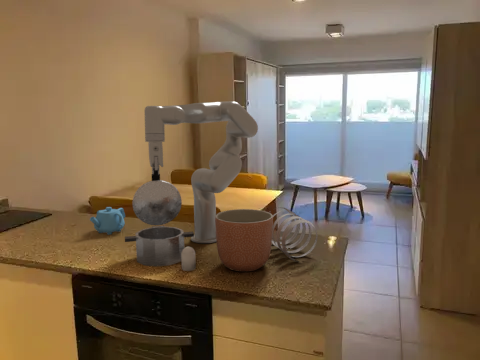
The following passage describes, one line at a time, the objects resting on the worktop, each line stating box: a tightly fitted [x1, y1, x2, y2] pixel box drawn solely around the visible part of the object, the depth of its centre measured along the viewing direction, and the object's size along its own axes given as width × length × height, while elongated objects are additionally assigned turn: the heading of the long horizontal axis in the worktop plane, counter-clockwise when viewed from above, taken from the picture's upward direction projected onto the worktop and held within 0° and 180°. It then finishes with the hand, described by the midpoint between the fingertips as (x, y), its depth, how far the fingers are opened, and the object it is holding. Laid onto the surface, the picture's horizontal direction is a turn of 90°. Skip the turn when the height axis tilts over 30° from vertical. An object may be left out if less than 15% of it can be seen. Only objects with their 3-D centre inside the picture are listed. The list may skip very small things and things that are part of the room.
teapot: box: [89, 206, 126, 236], centre depth 200 cm, size 20×17×12 cm
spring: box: [272, 206, 318, 263], centre depth 172 cm, size 16×16×30 cm
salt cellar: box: [181, 246, 196, 272], centre depth 153 cm, size 5×5×8 cm
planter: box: [215, 208, 274, 272], centre depth 154 cm, size 21×21×19 cm
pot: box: [124, 225, 195, 267], centre depth 165 cm, size 26×20×10 cm
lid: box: [132, 179, 183, 226], centre depth 170 cm, size 19×19×3 cm
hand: (155, 184), depth 169 cm, fingers closed
